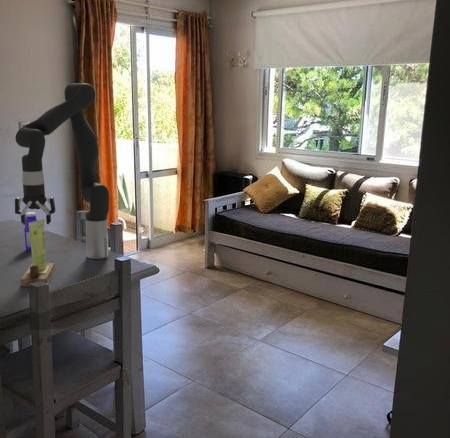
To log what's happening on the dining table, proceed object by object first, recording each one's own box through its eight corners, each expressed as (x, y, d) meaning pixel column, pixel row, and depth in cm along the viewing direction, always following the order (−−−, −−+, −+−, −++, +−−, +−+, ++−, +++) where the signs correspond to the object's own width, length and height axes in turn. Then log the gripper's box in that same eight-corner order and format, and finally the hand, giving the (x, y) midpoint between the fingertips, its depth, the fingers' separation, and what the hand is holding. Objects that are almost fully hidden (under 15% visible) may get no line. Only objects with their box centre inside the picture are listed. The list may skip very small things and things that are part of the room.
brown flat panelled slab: (55, 269, 199) (54, 253, 197) (46, 286, 182) (45, 268, 180) (32, 270, 197) (30, 254, 196) (21, 286, 180) (20, 269, 179)
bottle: (34, 252, 220) (32, 215, 216) (23, 250, 221) (20, 214, 217) (43, 247, 227) (41, 211, 223) (32, 246, 228) (30, 210, 224)
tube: (45, 270, 188) (42, 222, 183) (31, 271, 186) (28, 222, 182) (47, 266, 193) (44, 218, 188) (33, 266, 192) (30, 218, 187)
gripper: (55, 180, 186) (57, 221, 190) (15, 180, 184) (19, 222, 188) (51, 184, 179) (54, 226, 183) (10, 184, 177) (14, 227, 181)
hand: (36, 224), depth 185 cm, fingers open, 8 cm apart
